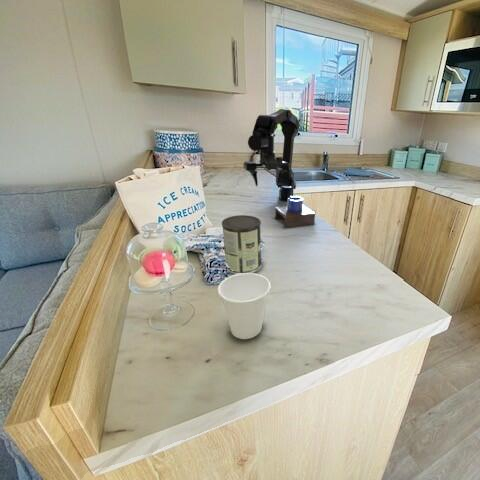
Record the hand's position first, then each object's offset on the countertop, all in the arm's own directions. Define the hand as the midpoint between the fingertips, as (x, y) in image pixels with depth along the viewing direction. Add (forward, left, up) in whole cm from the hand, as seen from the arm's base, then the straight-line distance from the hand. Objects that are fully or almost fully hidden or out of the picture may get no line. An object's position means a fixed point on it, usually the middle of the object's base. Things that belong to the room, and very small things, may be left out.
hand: (267, 185), depth 120 cm
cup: (+28, +70, -12) cm, 76 cm away
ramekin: (-7, +15, -7) cm, 18 cm away
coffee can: (+22, +44, -12) cm, 51 cm away
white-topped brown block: (-7, +15, -12) cm, 20 cm away
